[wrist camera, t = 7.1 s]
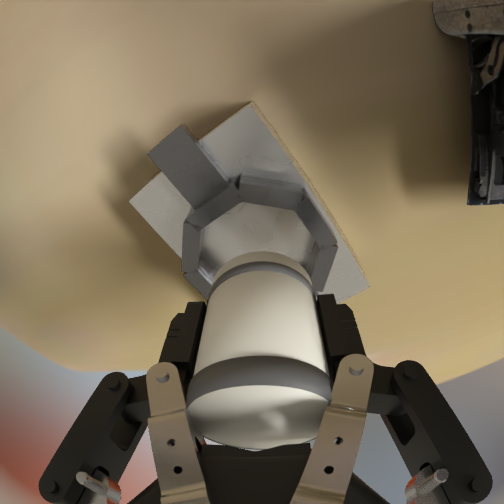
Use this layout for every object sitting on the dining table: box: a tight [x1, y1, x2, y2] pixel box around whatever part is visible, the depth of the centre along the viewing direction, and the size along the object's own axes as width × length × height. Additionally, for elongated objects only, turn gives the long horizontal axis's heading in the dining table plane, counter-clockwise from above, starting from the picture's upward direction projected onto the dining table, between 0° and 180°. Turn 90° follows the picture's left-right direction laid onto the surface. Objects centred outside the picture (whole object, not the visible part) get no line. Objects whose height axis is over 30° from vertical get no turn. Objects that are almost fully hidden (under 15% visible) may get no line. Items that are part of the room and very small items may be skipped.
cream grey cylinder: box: [186, 251, 334, 450], centre depth 12 cm, size 5×5×7 cm
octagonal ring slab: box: [129, 101, 370, 304], centre depth 19 cm, size 9×15×6 cm, turn 36°
